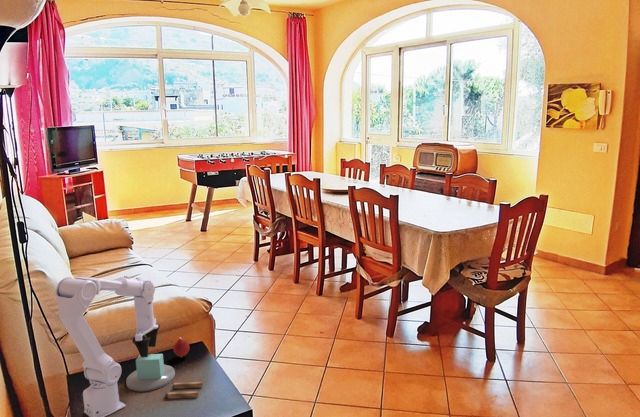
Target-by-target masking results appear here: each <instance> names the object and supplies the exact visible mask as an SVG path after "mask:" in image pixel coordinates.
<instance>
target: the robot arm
mask: <svg viewBox="0 0 640 417" xmlns="http://www.w3.org/2000/svg"><path fill="white" fill-rule="evenodd" d="M100 291H111V292H114V293H115V294H116V295H117V296H120V297H121V296H124V297H133V302H134V304H133V305H134V313H135V321H136V328H135V329H136V330H135V331H136V332H135V335H134V337H133V338H132V343H133V344H134V346H135V347H136V348H137V351H138V352H139V355H140V356H141V357H147V356H148V354H149V348H155V347H156V346H157V338H158V333H159V330H160V328H161V325H160V324H157V318H156V317H155V316H154V314H155V312H154V305H153V302H154V294H155V291H156V286H155V285H154V283H153V282H152V281H151V280H146V279H141V278H140V277H135V278H131V276H128V275H124V276H123V277H119V278H117V280H112V279H106V278H105V279H104V278H100V277H99V278H98V277H90V276H89V277H87V276H86V277H85V276H82V277H81V276H78V277H76V276H75V277H74V278H73V277H69V276H68V277H63V278H62V279H60V281H58V283H57V285H56V288H55V291H54V294H53V295H54V297H55V298H56V300H57V307H58V308H57V309H58V317H59V320H60V322H61V324H62V325H63V327H64V329H65V330H66V332H67V333H68V335H69V336H70V338H71V340H72V342H73V343H74V345H75V346H76V348H77V350H78V352H79V353H80V355H81V357H82V358H83V362H82V364H81V366H82V367H83V374H84V375H83V376H84V377H85V379H87V380H88V381H89V384H90V385H89V386H88V387H87V388H85V389H83V392H82V398H83V399H82V400H83V406H84V410H83V414H86V415H87V416H88V417H107V416H109V415H111V414H113V413H115V412H117V411H119V410H121V409H123V408H125V407H126V404H125V403H124V402H122V401H120V395H119V394H120V393H119V387H118V386H119V385H118V381H119V379H120V378H121V375H122V366H121V365H120V363H118V362H116V361H115V360H114V358H112V357H111V356H110V355H109V354H107V353H106V352H105V351H104V349H103V348H102V346H101V344H100V342H99V341H98V339H97V337H96V335H95V333H94V332H93V330H92V328H91V326H90V325H89V323H88V321H87V320H86V318H85V316H84V314H85V313H86V312H87V310H88V309H89V307H90V305H91V304H92V302H93V301H94V299H95V297H96V295H99V294H100Z"/></svg>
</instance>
